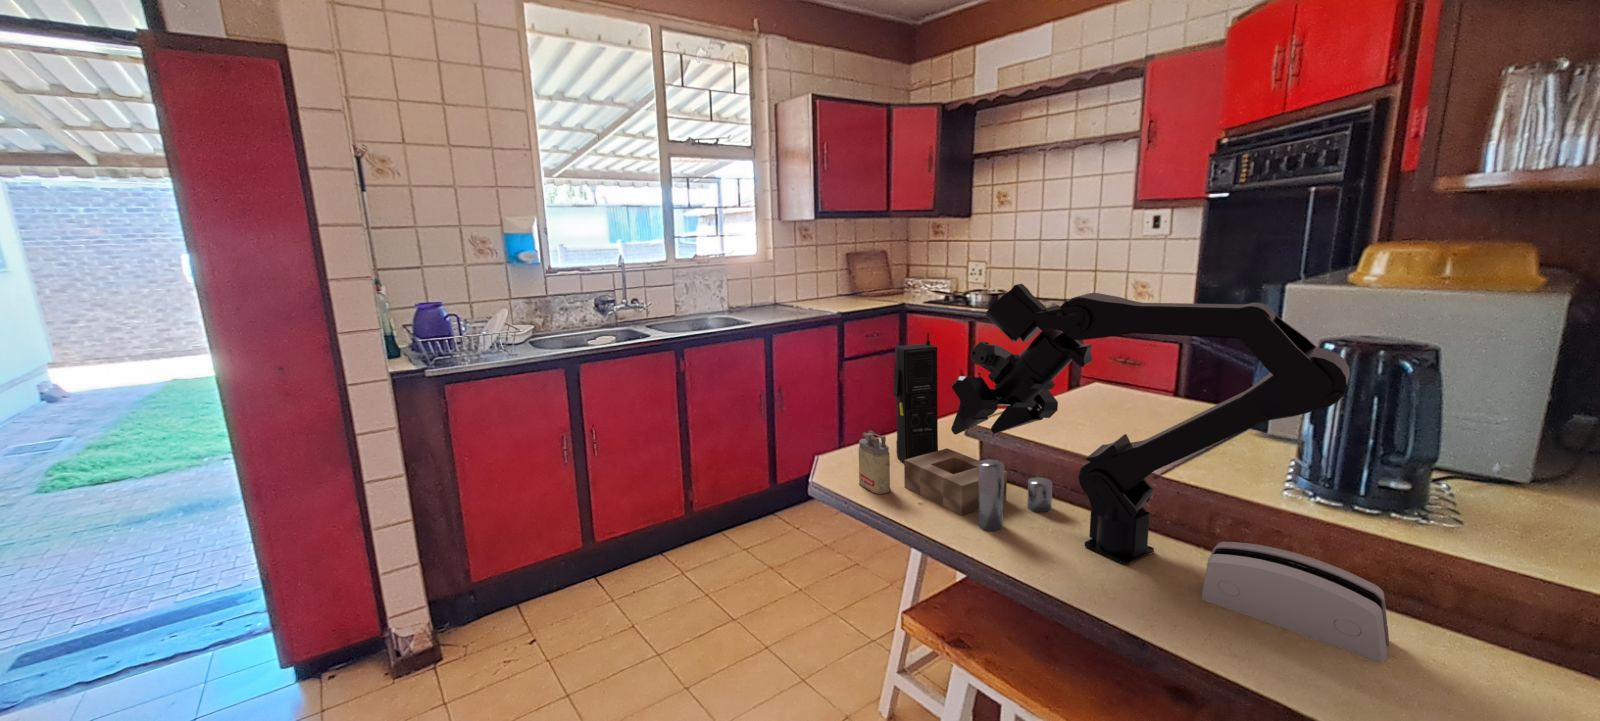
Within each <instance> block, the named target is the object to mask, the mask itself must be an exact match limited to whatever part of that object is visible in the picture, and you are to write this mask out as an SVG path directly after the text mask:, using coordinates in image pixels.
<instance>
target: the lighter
mask: <svg viewBox="0 0 1600 721" xmlns="http://www.w3.org/2000/svg"><path fill="white" fill-rule="evenodd" d="M861 436H862V437H863V438H861V439H860V440H859V441H858V445H859V446H858V479H859V480H858V484H859V485H860V486H861V487H863V488H864V489H867V490H868V491H870V492H872V493H874V494H877V495H879V494H881V495H883V494H887V493H889V492H890V491H891V478H890V477H891V474H890V473H891V472H890V470H891V469H890V468H891V467H890V463H891V462H890V458H891V457H890V455H891V454H890V451H889V450H890V449H889V448H890V447H889V446H888V444H886V441H887V440H886V439H887V438H886V435H879V434H877V433H875V432H874V431H872V430H868V431H867V432H862V435H861Z"/></svg>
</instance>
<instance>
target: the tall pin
mask: <svg viewBox="0 0 1600 721" xmlns="http://www.w3.org/2000/svg"><path fill="white" fill-rule="evenodd" d="M979 461H980V462H979V489H978V510H977V526H978V528H979V529H981V530H983V531H986V532H999V531H1001V530H1002V529H1003V524H1004V523H1003V520H1004V518H1003V516H1004V501H1003V491H1004V471H1005V463H1004V462H1003V461H1002V460H997V459H989V458H988V459H982V460H979Z"/></svg>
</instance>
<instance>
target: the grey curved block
mask: <svg viewBox="0 0 1600 721" xmlns="http://www.w3.org/2000/svg"><path fill="white" fill-rule="evenodd" d="M1200 599H1201V600H1202V601H1205V602H1208V603H1211V604H1213V605H1217V606H1219V607H1222V608H1225V609H1228V610H1230V611H1234V612H1236V613H1240V614H1243V615H1245V616H1249V617H1251V618H1253V619H1256V620H1259V621H1262V622H1264V623H1268V624H1270V625H1274V626H1277V627H1279V628H1281V629H1285V630H1287V631H1290V632H1293V633H1296V634H1300V635H1302V636H1305V637H1308V638H1310V639H1313V640H1316V641H1319V642H1321V643H1324V644H1328V645H1330V646H1334V647H1336V648H1339V649H1342V650H1344V651H1347V652H1350V653H1354V654H1356V655H1359V656H1361V657H1363V658H1364V657H1365V658H1367V659H1370V660H1373V661H1376V662H1379V663H1381V664H1383V663H1384V662H1385V661H1386V659H1387V658H1388V651H1387V647H1388V648H1391V647H1390V634H1389V626H1388V619H1387V618H1388V616H1387V609H1386V600H1385V592H1384V591H1383V589H1382V588H1380V587H1379V586H1378V585H1376V584H1374V583H1373V582H1370V581H1369V580H1367V579H1364V578H1362V577H1361V576H1358V575H1356V574H1355V573H1351V572H1350V571H1347V570H1345V569H1343V568H1340V567H1337V566H1335V565H1333V564H1330V563H1327V562H1324V561H1321V560H1319V559H1316V558H1313V557H1310V556H1307V555H1304V554H1300V553H1297V552H1293V551H1291V550H1290V551H1289V550H1287V549H1286V550H1285V549H1281V548H1277V547H1271V546H1267V545H1263V544H1256V543H1249V542H1237V541H1220V542H1218V543H1217V544H1216V546H1214V547H1213V548H1212V551H1211V555H1209V556H1208V559H1207V563H1206V568H1205V575H1204V580H1203V585H1202V590H1201V598H1200Z"/></svg>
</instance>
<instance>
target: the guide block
mask: <svg viewBox="0 0 1600 721" xmlns="http://www.w3.org/2000/svg"><path fill="white" fill-rule="evenodd" d="M980 461H981V460H978V459H975V458H973V457H970V456H967V455H965V454H963V453H961V452H958V451H955V450H953V449H950V448H943V449H938V451H935V452H932V453H928V454H924V455H920V456H917V457H913V458H909V459H906V460H904V468H903V469H904V472H903V473H904V476H903V477H904V480H903V481H904V488H907V489H909V490H910V491H912V492H914V493H916V494H918V495H920V496H922V497H924V498H926V499H928V500H930V501H932V502H934V503H936V504H937V505H940V506H942V507H944V508H946V509H948V510H950V511H952V512H954V513H955V514H958V515H960V516H964V515H967V514H970V513H973V512H976V511H978V489H979V462H980ZM1007 477H1008V471H1006V470H1004V491H1003V502H1004V501H1007V488H1008V486H1007V481H1008V478H1007Z"/></svg>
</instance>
